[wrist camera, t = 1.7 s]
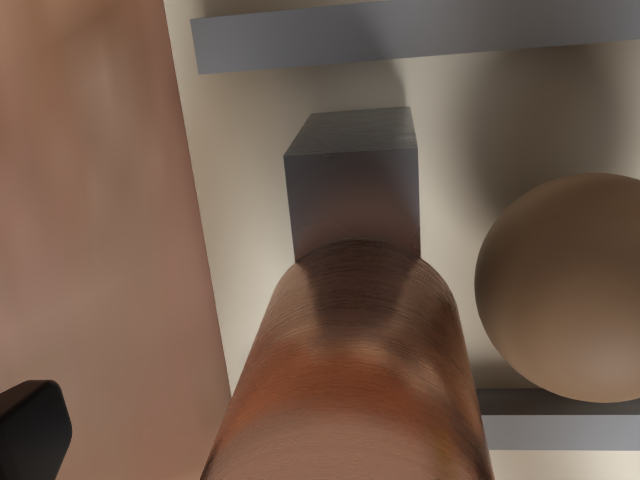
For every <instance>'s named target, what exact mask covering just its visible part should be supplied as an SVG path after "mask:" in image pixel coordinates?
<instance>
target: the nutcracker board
mask: <svg viewBox="0 0 640 480" xmlns="http://www.w3.org/2000/svg"><path fill="white" fill-rule="evenodd" d="M163 1H164V7H165V13H166V18H167V24H168V30H169V36H170V42H171V47H172V53H173V59H174V65H175V71H176V76H177V82H178V88H179V94H180V100H181V105H182V111H183V117H184V123H185V129H186V134H187V140H188V146H189V152H190V158H191V163H192V169H193V175H194V181H195V187H196V193H197V198H198V204H199V210H200V216H201V222H202V227H203V233H204V239H205V245H206V251H207V256H208V262H209V268H210V274H211V280H212V285H213V291H214V297H215V303H216V309H217V314H218V320H219V326H220V332H221V338H222V343H223V349H224V355H225V361H226V367H227V372H228V378H229V384H230V390H231V396H233V393H234V391H235V388H236V386H237V383H238V380H239V378H240V375H241V373H242V370H243V368H244V365H245V363H246V360H247V357H248V355H249V352H250V350H251V347H252V345H253V342H254V340H255V337H256V334H257V332H258V329H259V327H260V324H261V322H262V319H263V317H264V314H265V311H266V309H267V306H268V304H269V301H270V299H271V296H272V294H273V291H274V289H275V287H276V285H277V283H278V282H279V280H280V278H281V277H282V276H283V275H284V273H285V272H286V271H287V270H288V269H289V268H290V267H291V266H292V265H293V264H294V263H295V258H294V249H293V240H292V231H291V222H290V213H289V205H288V196H287V187H286V178H285V169H284V160H283V155H284V154H285V152H286V151H287V149H288V148H289V146H290V145H291V143H292V142H293V140H294V139H295V137H296V135H297V134H298V132H299V131H300V129H301V128H302V126H303V125H304V123H305V122H306V120H307V119H308V117H309V116H310V114H311V113H322V112H337V111H351V110H365V109H380V108H394V107H408V106H410V108H411V113H412V118H413V124H414V129H415V134H416V140H417V145H418V166H419V203H420V240H421V258H422V259H423V260H425V261H426V262H427V263H429V264H430V265H431V266H432V267H433V268H434V269H435V270H436V271H437V272H438V273H439V274H440V275H441V277H442V278H443V279H444V280H445V282H446V283H447V285H448V286H449V288H450V290H451V292H452V293H453V296H454V298H455V301H456V303H457V307H458V312H459V316H460V320H461V325H462V330H463V334H464V339H465V343H466V348H467V353H468V357H469V362H470V366H471V371H472V375H473V380H474V385H475V389H476V394H477V398H478V403H479V407H480V412H481V417H482V421H483V426H484V430H485V435H486V440H487V444H488V449H489V453H490V458H491V462H492V467H493V472H494V476H495V480H640V398H637V399H633V400H628V401H622V402H611V403H598V402H588V401H581V400H575V399H571V398H567V397H563V396H560V395H557V394H555V393H552V392H550V391H548V390H546V389H544V388H541V387H540V386H538V385H536V384H534V383H532V382H530V381H529V380H528V379H526V378H525V377H524V376H522V375H521V374H520V373H518V372H517V371H516V370H515V369H514V368H512V367H511V366H510V365H509V364H508V363H507V362H506V361H505V360H504V359H503V357H502V356H501V355H500V353H499V352H498V351H497V350H496V348H495V347H494V346H493V344H492V343H491V341H490V339H489V337H488V336H487V334H486V332H485V330H484V327H483V325H482V322H481V320H480V317H479V315H478V310H477V306H476V301H475V291H474V277H475V268H476V263H477V258H478V254H479V251H480V248H481V246H482V243H483V241H484V239H485V237H486V235H487V233H488V231H489V230H490V228H491V227H492V225H493V224H494V222H495V221H496V220H497V218H498V217H499V216H500V215H501V213H502V212H503V211H504V210H505V209H506V208H507V207H508V206H509V205H510V204H512V203H513V202H514V201H515V200H516V199H518V198H519V197H520V196H522V195H523V194H525V193H526V192H528V191H530V190H531V189H533V188H535V187H537V186H539V185H541V184H543V183H546V182H549V181H551V180H554V179H557V178H561V177H566V176H570V175H576V174H584V173H609V174H617V175H623V176H627V177H631V178H635V179H639V180H640V0H163Z"/></svg>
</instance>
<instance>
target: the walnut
mask: <svg viewBox="0 0 640 480" xmlns="http://www.w3.org/2000/svg"><path fill="white" fill-rule="evenodd" d="M474 291H475V301H476V306H477V310H478V315H479V317H480V320H481V322H482V325H483V327H484V330H485V332H486V334H487V336H488V337H489V339H490V341H491V343H492V344H493V346H494V347H495V348H496V350H497V351H498V352H499V353H500V355H501V356H502V357H503V359H504V360H505V361H506V362H507V363H508V364H509V365H510V366H511V367H512V368H514V369H515V370H516V371H517V372H518V373H520V374H521V375H522V376H524V377H525V378H526V379H528V380H529V381H530V382H532V383H534V384H536V385H538V386H540V387H541V388H544V389H546V390H548V391H550V392H552V393H555V394H557V395H560V396H563V397H567V398H571V399H575V400H581V401H588V402H598V403H611V402H622V401H628V400H633V399H637V398H640V180H639V179H635V178H631V177H627V176H623V175H617V174H609V173H584V174H576V175H570V176H566V177H561V178H557V179H554V180H551V181H549V182H546V183H543V184H541V185H539V186H537V187H535V188H533V189H531V190H530V191H528V192H526V193H525V194H523V195H522V196H520V197H519V198H518V199H516V200H515V201H514V202H513V203H512V204H510V205H509V206H508V207H507V208H506V209H505V210H504V211H503V212H502V213H501V215H500V216H499V217H498V218H497V220H496V221H495V222H494V224H493V225H492V227H491V228H490V230H489V231H488V233H487V235H486V237H485V239H484V241H483V243H482V246H481V248H480V251H479V254H478V258H477V263H476V268H475V277H474Z"/></svg>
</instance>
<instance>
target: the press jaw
mask: <svg viewBox="0 0 640 480" xmlns="http://www.w3.org/2000/svg"><path fill="white" fill-rule="evenodd" d="M283 160H284V169H285V178H286V187H287V196H288V205H289V213H290V222H291V231H292V240H293V249H294V258H295V263H294V264H293V265H292V266H291V267H290V268H289V269H288V270H287V271H286V272H285V273H284V275H283V276H282V277H281V278H280V280H279V282H278V283H277V285H276V287H275V289H274V291H273V294H272V296H271V299H270V301H269V304H268V306H267V309H266V311H265V314H264V317H263V319H262V322H261V324H260V327H259V329H258V332H257V334H256V337H255V340H254V342H253V345H252V347H251V350H250V352H249V355H248V357H247V360H246V363H245V365H244V368H243V370H242V373H241V375H240V378H239V380H238V383H237V386H236V388H235V391H234V393H233V396H232V398H231V401H230V403H229V406H228V409H227V411H226V414H225V416H224V419H223V421H222V424H221V426H220V429H219V432H218V434H217V437H216V439H215V442H214V444H213V447H212V449H211V452H210V455H209V457H208V460H207V462H206V465H205V467H204V470H203V472H202V475H201V478H200V480H495V476H494V472H493V467H492V462H491V458H490V453H489V449H488V444H487V440H486V435H485V430H484V426H483V421H482V417H481V412H480V407H479V403H478V398H477V394H476V389H475V385H474V380H473V375H472V371H471V366H470V362H469V357H468V353H467V348H466V343H465V339H464V334H463V330H462V325H461V320H460V316H459V312H458V307H457V303H456V301H455V298H454V296H453V293H452V292H451V290H450V288H449V286H448V285H447V283H446V282H445V280H444V279H443V278H442V277H441V275H440V274H439V273H438V272H437V271H436V270H435V269H434V268H433V267H432V266H431V265H430V264H429V263H427V262H426V261H425V260H423V259H422V258H421V240H420V203H419V166H418V145H417V140H416V134H415V129H414V124H413V118H412V113H411V108H410V106H408V107H394V108H380V109H365V110H351V111H337V112H322V113H311V114H310V116H309V117H308V119H307V120H306V122H305V123H304V125H303V126H302V128H301V129H300V131H299V132H298V134H297V135H296V137H295V139H294V140H293V142H292V143H291V145H290V146H289V148H288V149H287V151H286V152H285V154H284V155H283Z"/></svg>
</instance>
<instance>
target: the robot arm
mask: <svg viewBox="0 0 640 480" xmlns="http://www.w3.org/2000/svg"><path fill="white" fill-rule="evenodd" d="M71 438H72V425H71V421H70V417H69V414H68V411H67V407H66V404H65V401H64V397H63V394H62V391H61V388H60V386H59V385H58V383H57V382H55V381H53V380H28V381H25V382H22V383H20V384H18V385H16V386H14V387H12V388H10V389H8V390H6V391H4V392H2V393H0V480H55V479H56V476H57V474H58V471H59V469H60V467H61V464H62V462H63V459H64V457H65V454H66V452H67V450H68V447H69V445H70V442H71Z"/></svg>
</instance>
